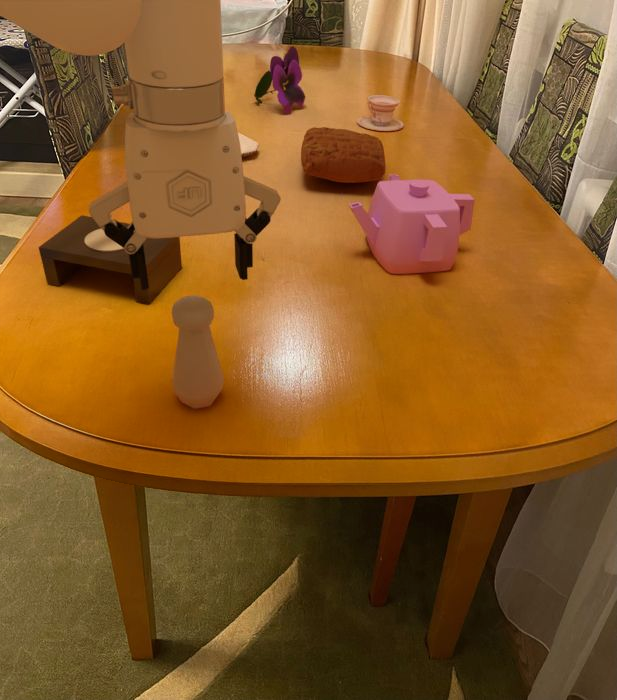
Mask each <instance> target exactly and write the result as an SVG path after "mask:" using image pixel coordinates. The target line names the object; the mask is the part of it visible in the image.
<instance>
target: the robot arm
mask: <svg viewBox="0 0 617 700" xmlns="http://www.w3.org/2000/svg"><path fill="white" fill-rule="evenodd" d="M0 17H1V18H4V19H5V20H7V21H8V22H10V23H12V24H13V25H16V26H17V27H19V28H21V29H22V30H24V31H26V32H27V33H29V34H31V35H33V36H35V37H36V38H37V39H40V40H41V41H43V42H45V43H46V44H49V45H50V46H52V47H55V48H56V49H59V50H61V51H63V52H66V53H69V54H73V55H77V56H84V57H85V56H88V57H94V56H100V55H106V54H107V53H110V52H113V51H115V50H116V49H118V48H120V47H121V46H122V45H124V49H125V56H126V64H127V73H128V79H129V80H125V83H126V84H121V85H120V86H118V85H117V86H111V90H112V97H113V104H114V105H123V106H124V107H129V110H133V111H132V112H130V113H129V114H128V115H127V116H126V121H125V130H124V131H125V132H124V152H125V153H124V154H125V156H124V157H125V158H124V159H125V170H126V181H125V182H124V183H122V184H120V185H119V186H117V187H115V188H114V189H112V190H110V191H108V192H106V193H104V194H103V195H102V196H99V197H98V198H96V199H94V200H93V201H91V202H90V203H89V205H88V214H89V217H92V218H93V219H94V220H95V222H96V223H97V224H98V225H99V227H100V228H102V230H103V231H104V232H105V235H106V236H107V237H108V238H110V239H111V240H113V241H114V242H116V243H117V244H119V245H120V246H122V247H123V248H124V249H125V251H126V252H127V253H128V254H129V259H130V265H131V271H132V274H131V278H132V280H133V279H136V278H140V282H141V288H142V290H147V288H149V283H148V275H147V268H146V260H145V253H144V246H143V243H144V242H145V240H146V239H147V238H171V237H180V238H182V237H195V236H206V235H218V234H226V233H232V232H234V233H233V235H234V238H233V239H234V262H235V263H234V264H235V268H236V271H237V273H238V278H239V279H240V280H242V281H246V280H248V279H249V278H248V274H249V273H248V269H249V268H253V267H254V263H253V262H254V256H253V255H254V250H253V249H254V248H253V247H254V246H253V245H254V243H255V242H256V241H257V236H258V235H259V234H260V233H262V231H263V230H264V229H265V228H266V227H267V226H269V224H270V223H271V218H272V216H273V215H274V213H275V212H276V210H277V208H278V206H279V205H280V203H281V196H280V194H279V192H278V190H276V189H275V188H272V187H270V186H267V185H266V184H263V183H261V182H259V181H256V180H254V179H252V178H250V177H248V176H245V175H244V166H243V158H242V156H241V148H240V142H239V136H238V133H239V131H238V127H237V123H236V118H235V116H234V115H233V114H232V113H231V112H230V111H228V110H226V103H225V78H224V54H223V52H224V51H223V27H222V2H221V0H0ZM246 196H248V197H250V198H252V199H255V200H257V201H260V203H259V206H258V207H257V208H256V209H255V210H254V211H253V212H252V213H251V214H250V215H249V216H248V218H247V207H246V205H247V204H246ZM128 203H129V209H130V214H131V219H132V220H131V222H130V223H129V224H130V225H129V226H128V227H127V228H126V227H125V226H124V225H122V224H121V223H119V222H120V221H118V220H117V219H115V218H114V217H113V216H112V214H111V213H112V212H115V211H116V210H118V209H119V208H121V207H123V206H125V205H126V204H128Z"/></svg>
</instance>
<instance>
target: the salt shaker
mask: <svg viewBox="0 0 617 700" xmlns="http://www.w3.org/2000/svg"><path fill="white" fill-rule="evenodd" d="M171 317H172V321H173V325H174V326H175V327H176V328H178V335H177V342H176V343H177V344H176V349H175V355H174V363H173V371H172V378H171V383H172V388H173V391H174V394H175V395H176V396H177V398H178V400H179V401H180V402H181V403H182V404H183V405H186V406H187V407H190V408H191V409H194V410H197V409H202V408H208V407H211V406H212V405H213V403H214V401H216V399H217V398H218V396H219V395H220V393H221V392H222V389H223V387H224V384H225V377H224V373H223V369H222V366H221V362H220V358H219V355H218V352H217V347H216V345H215V344H216V343H215V341H214V338H213V334H212V330H211V327H210V326H211V325H212V324H213V321H214V318H215V310H214V305H213V304H212V301H211V300H208V299H207V298H206V297H204V296H200V295H186V296H182V297H180V298H179V299H177V300H176V301H175V302H174V303H173V305H172V307H171Z"/></svg>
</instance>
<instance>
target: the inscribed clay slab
mask: <svg viewBox="0 0 617 700" xmlns="http://www.w3.org/2000/svg"><path fill="white" fill-rule="evenodd" d="M384 148H385V147H384V145H383V142H382V140H381V139H379V138H378V137H376V136H374V135H371V134H369V133H363V132H362V133H361V132H357V131H353V130H350V129H344V128H333V127H327V126H323V127H313V126H312V127H311V128H309V129H307V130H306V132H305V134H304V136H303V140H302V143H301V148H300V162H301V163H300V164H301V167H302V170H303V172H304V173H305V174H307V175H309V176H311V177H312V176H313V177H316V178H319V179H324V180H328V181H332V182H337V183H343V184H344V183H345V184H347V183H348V184H352V183H353V184H354V183H355V184H356V183H368V182H374V181H377V180H380V179H382V178H384V176H385V174H386V155H385V149H384Z"/></svg>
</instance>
